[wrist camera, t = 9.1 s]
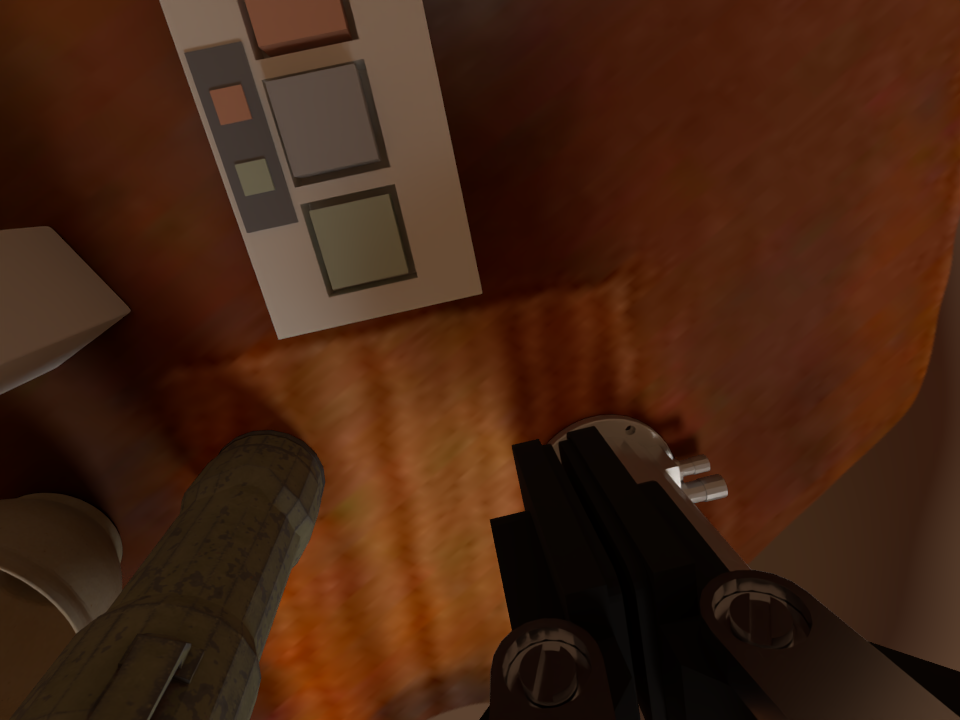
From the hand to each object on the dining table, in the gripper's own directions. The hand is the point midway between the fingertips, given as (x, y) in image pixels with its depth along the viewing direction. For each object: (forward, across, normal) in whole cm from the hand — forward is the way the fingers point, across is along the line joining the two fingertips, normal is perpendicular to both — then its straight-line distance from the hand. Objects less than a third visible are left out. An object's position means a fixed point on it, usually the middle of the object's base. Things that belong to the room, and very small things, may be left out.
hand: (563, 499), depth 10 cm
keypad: (+29, +6, -11) cm, 32 cm away
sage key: (+28, +6, -4) cm, 29 cm away
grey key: (+27, +6, -11) cm, 29 cm away
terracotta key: (+28, +6, -18) cm, 33 cm away
